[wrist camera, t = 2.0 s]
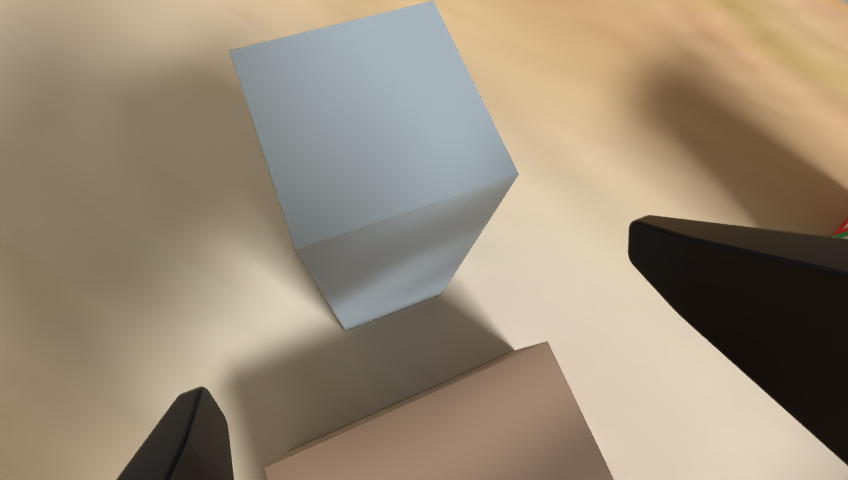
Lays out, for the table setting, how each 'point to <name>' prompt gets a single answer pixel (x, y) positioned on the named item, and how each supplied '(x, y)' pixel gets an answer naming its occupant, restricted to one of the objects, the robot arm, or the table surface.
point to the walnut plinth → (464, 431)
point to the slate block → (376, 155)
